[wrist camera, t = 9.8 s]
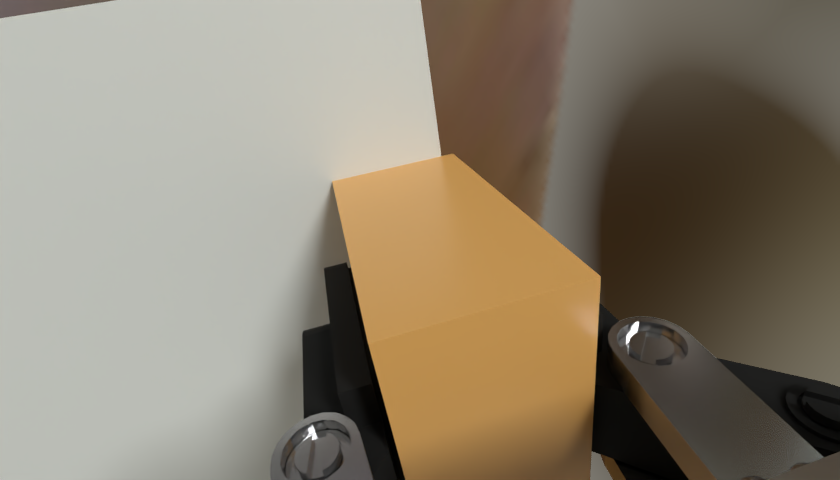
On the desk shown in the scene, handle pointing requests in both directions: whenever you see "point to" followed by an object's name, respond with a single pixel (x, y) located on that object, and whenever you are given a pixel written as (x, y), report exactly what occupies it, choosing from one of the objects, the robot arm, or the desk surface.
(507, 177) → the desk surface
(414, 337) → the lid
